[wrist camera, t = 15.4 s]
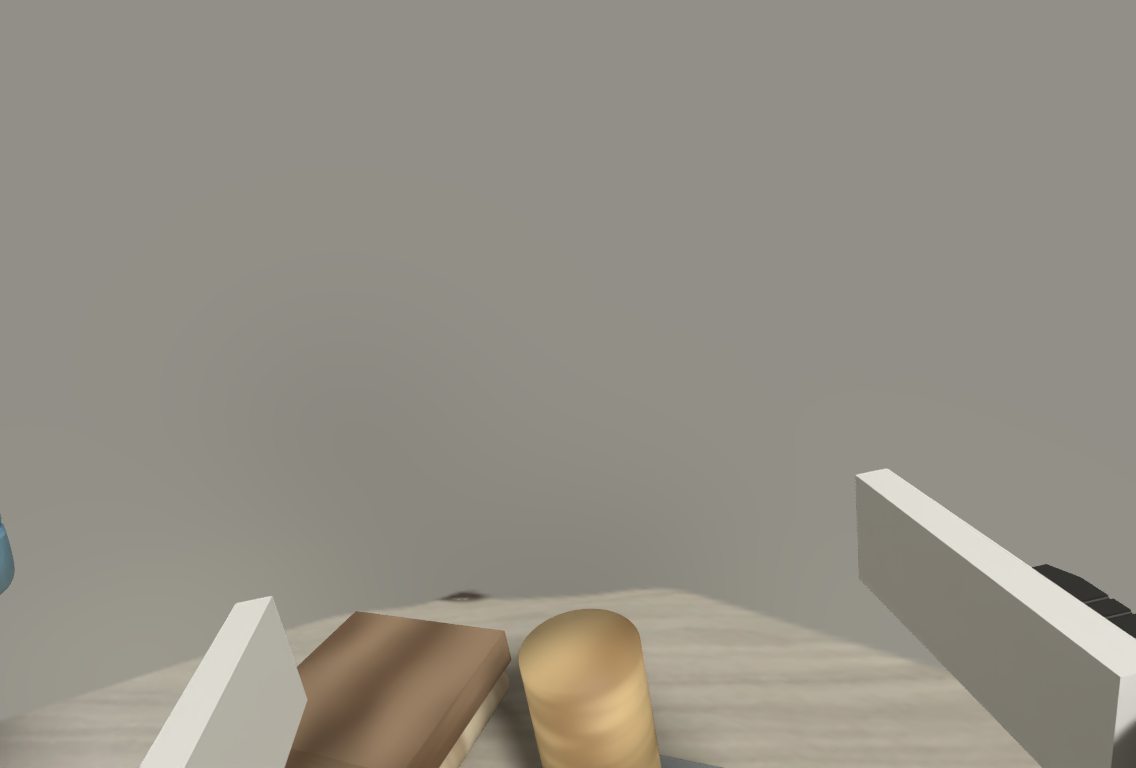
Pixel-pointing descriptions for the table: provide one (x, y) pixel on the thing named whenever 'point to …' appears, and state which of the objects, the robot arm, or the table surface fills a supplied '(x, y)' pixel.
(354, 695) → the slab
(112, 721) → the table surface
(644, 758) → the roller
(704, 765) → the pad
